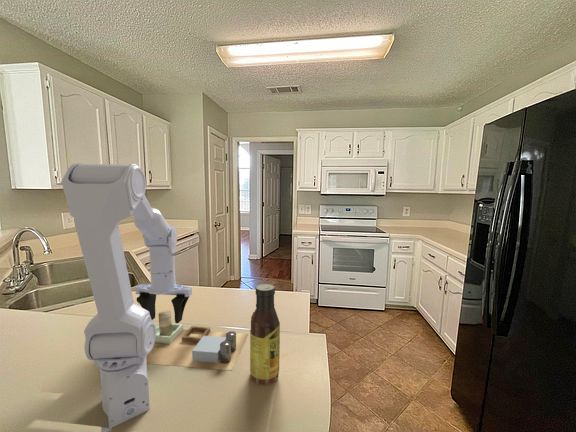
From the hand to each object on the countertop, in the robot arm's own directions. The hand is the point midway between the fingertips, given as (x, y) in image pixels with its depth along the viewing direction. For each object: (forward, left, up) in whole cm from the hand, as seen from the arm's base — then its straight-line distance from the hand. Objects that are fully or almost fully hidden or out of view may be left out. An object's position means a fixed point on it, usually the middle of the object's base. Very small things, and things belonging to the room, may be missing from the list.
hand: (165, 320), depth 67 cm
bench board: (-9, -4, -5) cm, 11 cm away
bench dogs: (-17, -10, -4) cm, 20 cm away
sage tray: (0, 0, -4) cm, 4 cm away
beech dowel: (0, 0, -4) cm, 4 cm away
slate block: (-14, -7, -4) cm, 16 cm away
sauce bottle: (-28, -13, -5) cm, 31 cm away
